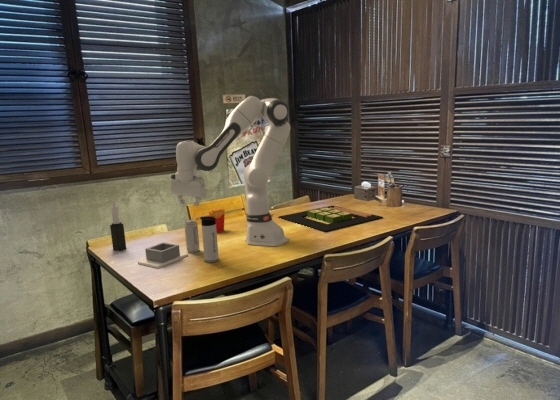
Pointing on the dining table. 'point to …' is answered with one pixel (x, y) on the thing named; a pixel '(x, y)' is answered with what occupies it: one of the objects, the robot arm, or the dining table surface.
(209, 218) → the travel mug
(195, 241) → the energy drink can
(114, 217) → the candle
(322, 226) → the sushi set
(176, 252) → the housing
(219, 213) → the french fries
